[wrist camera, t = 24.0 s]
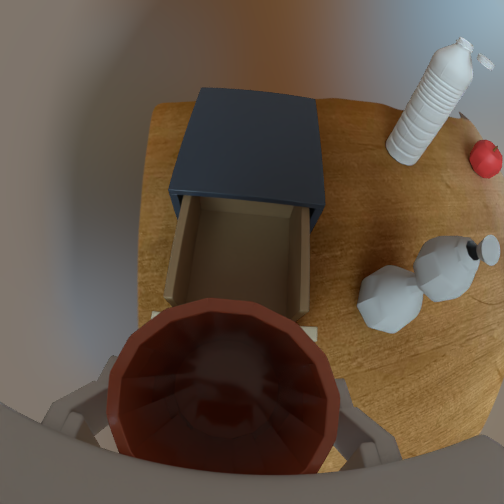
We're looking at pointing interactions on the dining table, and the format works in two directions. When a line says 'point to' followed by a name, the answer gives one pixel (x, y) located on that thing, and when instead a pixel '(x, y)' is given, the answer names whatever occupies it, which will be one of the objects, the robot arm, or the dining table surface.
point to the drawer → (242, 255)
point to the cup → (224, 392)
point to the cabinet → (251, 150)
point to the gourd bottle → (423, 280)
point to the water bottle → (433, 101)
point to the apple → (486, 159)
